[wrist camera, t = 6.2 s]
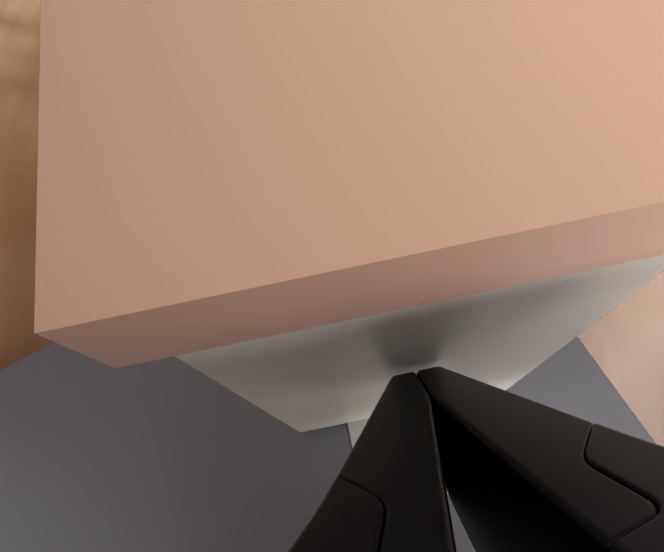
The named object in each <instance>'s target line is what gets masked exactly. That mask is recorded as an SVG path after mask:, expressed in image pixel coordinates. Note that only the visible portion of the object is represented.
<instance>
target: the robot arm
mask: <svg viewBox="0 0 664 552" xmlns="http://www.w3.org/2000/svg"><path fill="white" fill-rule="evenodd" d="M447 492H448V495H449V497H450V499H451V502H452V504H453V506H454V508H455V510H456V512H457V514H458V516H459V519H460V521H461V523H462V525H463V527H464V529H465V531H466V533H467V535H468V537H469V539H470V541H471V543H472V545H473V548H474V550H475V552H664V446H660V445H657V444H654V443H651V442H648V441H645V440H642V439H640V438H637V437H634V436H631V435H628V434H625V433H622V432H619V431H616V430H614V429H611V428H608V427H606V426H603V425H600V424H597V423H596V424H594V425H593V423H592V422H589V421H587V420H584V419H581V418H579V417H576V416H573V415H570V414H568V413H565V412H562V411H560V410H557V409H554V408H551V407H549V406H546V405H543V404H541V403H538V402H535V401H532V400H530V399H527V398H524V397H522V396H519V395H516V394H513V393H511V392H508V391H505V390H503V389H500V388H497V387H494V386H492V385H489V384H486V383H483V382H481V381H478V380H475V379H473V378H470V377H467V376H464V375H462V374H459V373H456V372H454V371H451V370H448V369H445V368H443V367H439V366H436V367H432V368H427V369H422V370H419V371H418V372H417V375H416V374H415V373H414V372H408V373H404V374H399V375H395V376H393V377H392V378H391V379H390V381H389V383H388V385H387V386H386V388H385V390H384V392H383V394H382V396H381V397H380V399H379V401H378V403H377V405H376V406H375V408H374V410H373V412H372V414H371V416H370V417H369V419H368V421H367V423H366V425H365V427H364V428H363V430H362V432H361V434H360V436H359V438H358V439H357V441H356V443H355V445H354V447H353V449H352V450H351V452H350V454H349V456H348V458H347V459H346V461H345V463H344V465H343V467H342V469H341V470H340V472H339V474H338V476H337V478H336V479H335V480H334V482H333V483H332V485H331V487H330V489H329V491H328V492H327V494H326V496H325V498H324V499H323V501H322V502H321V504H320V506H319V507H318V509H317V511H316V512H315V514H314V516H313V517H312V519H311V520H310V522H309V523H308V524H307V526H306V527H305V529H304V530H303V532H302V533H301V534H300V536H299V537H298V539H297V540H296V541H295V543H294V544H293V546H292V547H291V548H290V550H289V551H288V552H457V551H456V544H455V538H454V532H453V526H452V520H451V514H450V508H449V502H448V495H447Z"/></svg>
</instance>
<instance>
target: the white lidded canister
mask: <svg viewBox="0 0 664 552" xmlns="http://www.w3.org/2000/svg"><path fill="white" fill-rule="evenodd" d="M662 271H664V0H41V21H40V69H39V117H38V165H37V213H36V261H35V310H34V334H36V335H39V336H41V337H43V338H46V339H48V340H50V341H53V342H55V343H57V344H60V345H62V346H64V347H67V348H69V349H71V350H74V351H76V352H78V353H81V354H83V355H85V356H88V357H90V358H92V359H95V360H97V361H99V362H102V363H104V364H106V365H109V366H111V367H113V368H119V367H124V366H129V365H134V364H139V363H144V362H148V361H153V360H158V359H163V358H168V357H173V356H175V357H177V358H178V359H180V360H182V361H183V362H185V363H187V364H188V365H190V366H192V367H193V368H195V369H197V370H198V371H200V372H201V373H203V374H205V375H206V376H208V377H210V378H211V379H213V380H215V381H216V382H218V383H220V384H221V385H223V386H225V387H226V388H228V389H229V390H231V391H233V392H234V393H236V394H238V395H239V396H241V397H243V398H244V399H246V400H248V401H249V402H251V403H252V404H254V405H256V406H257V407H259V408H261V409H262V410H264V411H266V412H267V413H269V414H271V415H272V416H274V417H276V418H277V419H279V420H280V421H282V422H284V423H285V424H287V425H289V426H290V427H292V428H294V429H295V430H297V431H299V432H305V431H310V430H315V429H320V428H325V427H330V426H335V425H339V424H344V423H349V422H354V421H359V420H364V419H369V417H370V416H371V414H372V412H373V410H374V408H375V406H376V405H377V403H378V401H379V399H380V397H381V396H382V394H383V392H384V390H385V388H386V386H387V385H388V383H389V381H390V379H391V378H392V377H393V376H395V375H399V374H404V373H408V372H414V373H415V374H416V375H417V372H418V371H419V370H422V369H427V368H432V367H436V366H439V367H443V368H445V369H448V370H451V371H454V372H456V373H459V374H462V375H464V376H467V377H470V378H473V379H475V380H478V381H481V382H483V383H486V384H489V385H492V386H494V387H497V388H500V389H503V390H505V391H506V390H507V389H508V388H510V387H511V386H512V385H514V384H515V383H516V382H517V381H519V380H520V379H521V378H523V377H524V376H525V375H527V374H528V373H529V372H531V371H532V370H533V369H535V368H536V367H537V366H539V365H540V364H541V363H543V362H544V361H545V360H546V359H548V358H549V357H550V356H552V355H553V354H554V353H556V352H557V351H558V350H560V349H561V348H562V347H564V346H565V345H566V344H568V343H569V342H570V341H571V340H573V339H574V338H575V337H577V336H578V335H579V334H581V333H582V332H583V331H585V330H586V329H587V328H589V327H590V326H591V325H593V324H594V323H595V322H596V321H598V320H599V319H600V318H602V317H603V316H604V315H606V314H607V313H608V312H610V311H611V310H612V309H614V308H615V307H616V306H618V305H619V304H620V303H621V302H623V301H624V300H625V299H627V298H628V297H629V296H631V295H632V294H633V293H635V292H636V291H637V290H639V289H640V288H641V287H643V286H644V285H645V284H646V283H648V282H649V281H650V280H652V279H653V278H654V277H656V276H657V275H658V274H660V273H661V272H662Z"/></svg>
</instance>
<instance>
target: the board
mask: <svg viewBox="0 0 664 552" xmlns="http://www.w3.org/2000/svg"><path fill="white" fill-rule="evenodd" d="M506 391H508V392H511V393H513V394H516V395H519V396H522V397H524V398H527V399H530V400H532V401H535V402H538V403H541V404H543V405H546V406H549V407H551V408H554V409H557V410H560V411H562V412H565V413H568V414H570V415H573V416H576V417H579V418H581V419H584V420H587V421H589V422H592V423H593V425H594V424H596V423H597V424H600V425H603V426H606V427H608V428H611V429H614V430H616V431H619V432H622V433H625V434H628V435H631V436H634V437H637V438H640V439H642V440H645V441H648V442H651V443H654V444H656V443H655V442H654V440H653V439H652V438H651V436H650V435H649V434H648V432H647V431H646V430H645V428H644V427H643V426H642V424H641V423H640V421H639V420H638V419H637V417H636V416H635V415H634V413H633V412H632V411H631V409H630V408H629V406H628V405H627V404H626V402H625V401H624V400H623V398H622V397H621V396H620V394H619V393H618V391H617V390H616V389H615V387H614V386H613V385H612V383H611V382H610V381H609V379H608V378H607V376H606V375H605V374H604V372H603V371H602V370H601V368H600V367H599V366H598V364H597V363H596V361H595V360H594V359H593V357H592V356H591V355H590V353H589V352H588V351H587V349H586V348H585V346H584V345H583V344H582V342H581V341H580V340H579V338H578V337H575V338H574V339H573V340H571V341H570V342H569V343H568V344H566V345H565V346H564V347H562V348H561V349H560V350H558V351H557V352H556V353H554V354H553V355H552V356H550V357H549V358H548V359H546V360H545V361H544V362H543V363H541V364H540V365H539V366H537V367H536V368H535V369H533V370H532V371H531V372H529V373H528V374H527V375H525V376H524V377H523V378H521V379H520V380H519V381H517V382H516V383H515V384H514V385H512V386H511V387H510V388H508V389H507V390H506ZM367 421H368V419H364V420H359V421H354V422H349V423H344V424H339V425H335V426H330V427H325V428H320V429H315V430H310V431H305V432H299V431H297V430H295V429H294V428H292V427H290V426H289V425H287V424H285V423H284V422H282V421H280V420H279V419H277V418H276V417H274V416H272V415H271V414H269V413H267V412H266V411H264V410H262V409H261V408H259V407H257V406H256V405H254V404H252V403H251V402H249V401H248V400H246V399H244V398H243V397H241V396H239V395H238V394H236V393H234V392H233V391H231V390H229V389H228V388H226V387H225V386H223V385H221V384H220V383H218V382H216V381H215V380H213V379H211V378H210V377H208V376H206V375H205V374H203V373H201V372H200V371H198V370H197V369H195V368H193V367H192V366H190V365H188V364H187V363H185V362H183V361H182V360H180V359H178V358H177V357H175V356H173V357H168V358H163V359H158V360H153V361H148V362H144V363H139V364H134V365H129V366H124V367H119V368H113V367H111V366H109V365H106V364H104V363H102V362H99V361H97V360H95V359H92V358H90V357H88V356H85V355H83V354H81V353H78V352H76V351H74V350H71V349H69V348H67V347H64V346H62V345H60V344H57V343H55V342H54V343H52V344H50V345H48V346H46V347H44V348H42V349H40V350H38V351H36V352H34V353H32V354H30V355H28V356H26V357H24V358H22V359H20V360H18V361H16V362H14V363H13V364H11V365H9V366H7V367H5V368H3V369H1V370H0V552H288V551H289V550H290V548H291V547H292V546H293V544H294V543H295V541H296V540H297V539H298V537H299V536H300V534H301V533H302V532H303V530H304V529H305V527H306V526H307V524H308V523H309V522H310V520H311V519H312V517H313V516H314V514H315V512H316V511H317V509H318V507H319V506H320V504H321V502H322V501H323V499H324V498H325V496H326V494H327V492H328V491H329V489H330V487H331V485H332V483H333V482H334V480H335V479H336V478H337V476H338V474H339V472H340V470H341V469H342V467H343V465H344V463H345V461H346V459H347V458H348V456H349V454H350V452H351V450H352V449H353V447H354V445H355V443H356V441H357V439H358V438H359V436H360V434H361V432H362V430H363V428H364V427H365V425H366V423H367ZM447 495H448V492H447ZM448 502H449V508H450V514H451V520H452V526H453V532H454V538H455V544H456V551H457V552H475V550H474V548H473V545H472V543H471V541H470V539H469V537H468V535H467V533H466V531H465V529H464V527H463V525H462V523H461V521H460V519H459V516H458V514H457V512H456V510H455V508H454V506H453V504H452V502H451V499H450V497H449V495H448Z"/></svg>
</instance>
